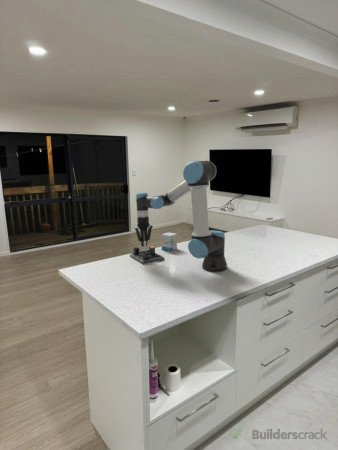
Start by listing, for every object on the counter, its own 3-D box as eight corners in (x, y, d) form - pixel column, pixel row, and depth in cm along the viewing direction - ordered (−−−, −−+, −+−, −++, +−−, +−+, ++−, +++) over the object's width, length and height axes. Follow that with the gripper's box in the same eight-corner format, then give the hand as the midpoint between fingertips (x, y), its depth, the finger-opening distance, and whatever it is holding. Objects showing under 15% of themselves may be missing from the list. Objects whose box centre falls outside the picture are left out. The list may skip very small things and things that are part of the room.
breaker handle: (155, 254, 216) (154, 247, 215) (151, 255, 215) (151, 247, 214) (153, 253, 219) (152, 246, 218) (149, 254, 217) (148, 246, 216)
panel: (164, 259, 211) (164, 250, 209) (143, 264, 203) (142, 254, 201) (150, 252, 227) (150, 243, 226) (130, 256, 219) (129, 247, 218)
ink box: (170, 251, 230) (170, 235, 227) (161, 249, 235) (160, 234, 232) (177, 248, 236) (177, 233, 234) (168, 246, 241) (167, 231, 239)
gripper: (149, 214, 214) (150, 248, 219) (131, 216, 208) (133, 251, 212) (154, 215, 208) (155, 250, 213) (136, 218, 201) (138, 253, 206)
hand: (144, 250), depth 213 cm, fingers closed
